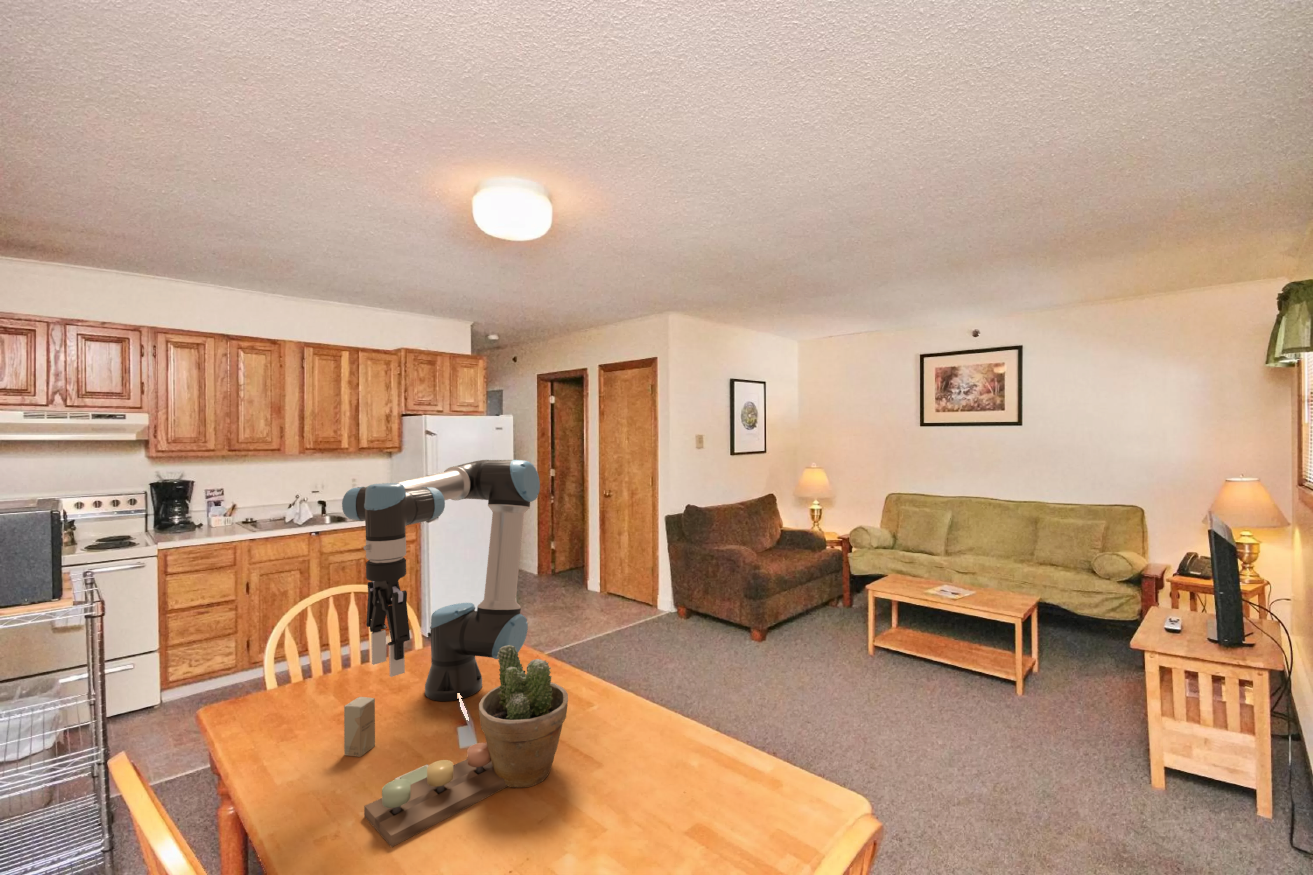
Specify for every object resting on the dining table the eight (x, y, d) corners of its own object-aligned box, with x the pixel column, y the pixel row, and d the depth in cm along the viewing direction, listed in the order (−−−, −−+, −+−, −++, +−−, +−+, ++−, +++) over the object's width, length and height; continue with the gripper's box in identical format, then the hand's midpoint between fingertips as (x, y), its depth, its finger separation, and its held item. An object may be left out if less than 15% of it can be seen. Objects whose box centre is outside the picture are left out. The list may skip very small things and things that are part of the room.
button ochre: (446, 779, 117) (445, 756, 117) (458, 789, 114) (457, 766, 114) (423, 790, 114) (422, 767, 114) (434, 801, 110) (434, 777, 110)
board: (480, 761, 127) (479, 752, 127) (510, 784, 119) (510, 774, 118) (364, 816, 109) (364, 805, 109) (391, 846, 101) (391, 835, 101)
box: (360, 757, 129) (359, 707, 129) (343, 755, 130) (342, 706, 130) (376, 744, 134) (375, 697, 134) (360, 742, 135) (359, 695, 135)
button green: (404, 799, 111) (403, 775, 111) (415, 810, 108) (414, 785, 108) (378, 811, 107) (377, 787, 107) (388, 823, 104) (388, 798, 104)
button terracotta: (484, 761, 123) (483, 739, 123) (496, 770, 120) (496, 748, 120) (463, 771, 120) (462, 749, 120) (475, 780, 117) (474, 757, 117)
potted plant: (582, 756, 128) (583, 645, 128) (539, 809, 111) (540, 679, 110) (510, 741, 134) (511, 634, 134) (458, 788, 117) (459, 665, 116)
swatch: (427, 766, 125) (427, 762, 125) (442, 779, 120) (442, 775, 120) (394, 780, 120) (394, 777, 120) (409, 795, 115) (409, 791, 115)
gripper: (347, 554, 124) (349, 660, 125) (389, 569, 110) (390, 689, 110) (383, 549, 130) (385, 650, 130) (427, 563, 115) (429, 676, 116)
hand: (387, 668), depth 120 cm, fingers open, 8 cm apart
